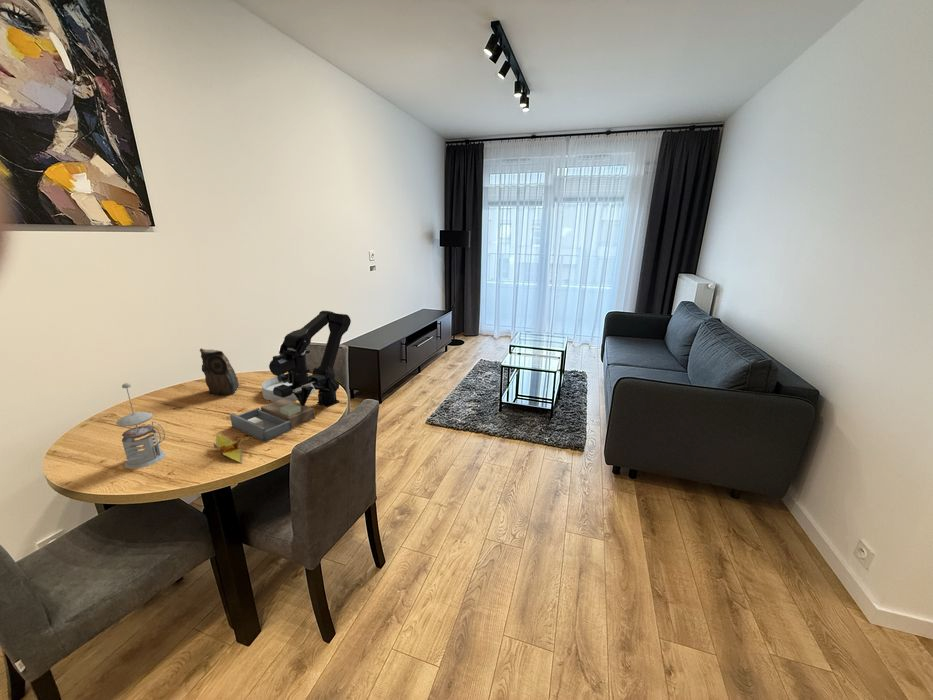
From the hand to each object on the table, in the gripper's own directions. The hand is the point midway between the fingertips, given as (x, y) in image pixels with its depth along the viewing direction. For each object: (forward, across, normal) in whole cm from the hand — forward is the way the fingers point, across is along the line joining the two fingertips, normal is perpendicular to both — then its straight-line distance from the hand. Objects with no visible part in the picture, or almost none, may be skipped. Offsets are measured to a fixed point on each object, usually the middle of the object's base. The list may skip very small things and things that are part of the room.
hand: (302, 405), depth 139 cm
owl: (+5, +3, -50) cm, 51 cm away
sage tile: (+1, +5, 0) cm, 5 cm away
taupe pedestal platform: (+5, +4, -4) cm, 7 cm away
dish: (+5, -12, -26) cm, 30 cm away
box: (+5, +14, -5) cm, 16 cm away
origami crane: (+5, +29, +2) cm, 29 cm away
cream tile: (+2, +16, -8) cm, 17 cm away
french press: (+5, +44, -15) cm, 46 cm away
